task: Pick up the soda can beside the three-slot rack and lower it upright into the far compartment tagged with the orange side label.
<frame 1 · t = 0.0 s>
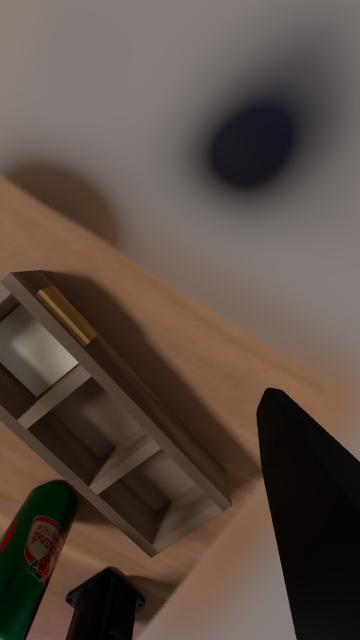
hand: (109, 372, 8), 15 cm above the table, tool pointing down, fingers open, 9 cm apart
can rack: (104, 406, 25), on the table
soda can: (56, 497, 28), on the table
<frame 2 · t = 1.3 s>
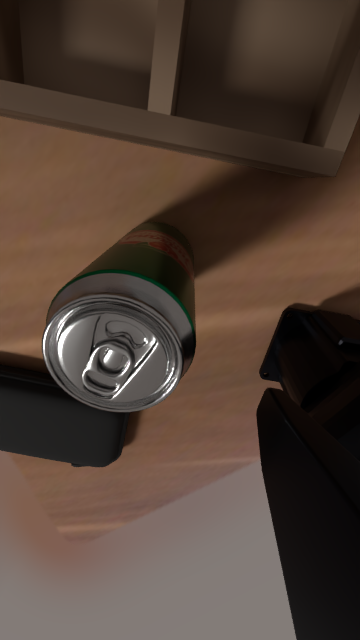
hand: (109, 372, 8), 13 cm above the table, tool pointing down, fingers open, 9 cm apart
can rack: (98, 28, 13), on the table
soda can: (157, 258, 19), on the table
carrying case or bag: (55, 408, 27), on the table
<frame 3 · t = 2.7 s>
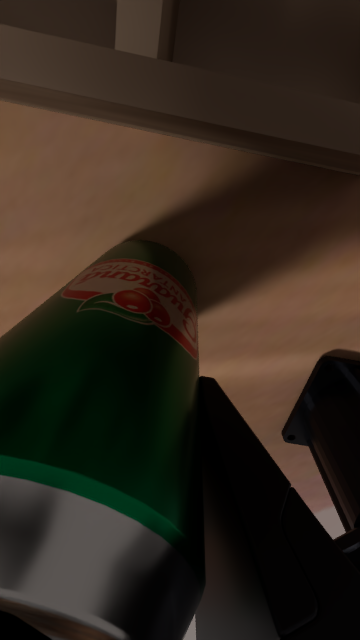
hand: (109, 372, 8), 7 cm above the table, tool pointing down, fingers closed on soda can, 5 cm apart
soda can: (146, 288, 14), on the table, touching gripper
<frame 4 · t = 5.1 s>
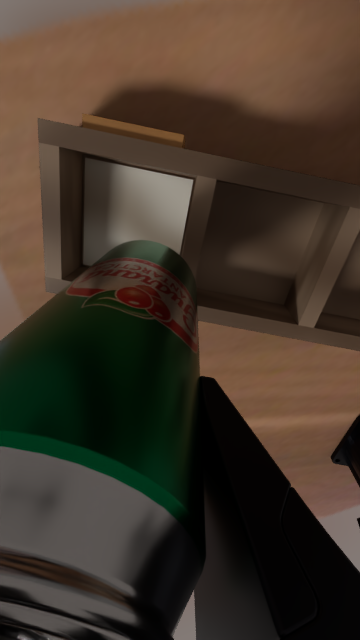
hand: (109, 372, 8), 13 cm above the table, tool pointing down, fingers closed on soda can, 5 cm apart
can rack: (249, 246, 19), on the table
soda can: (147, 287, 14), point 6 cm above the table, touching gripper
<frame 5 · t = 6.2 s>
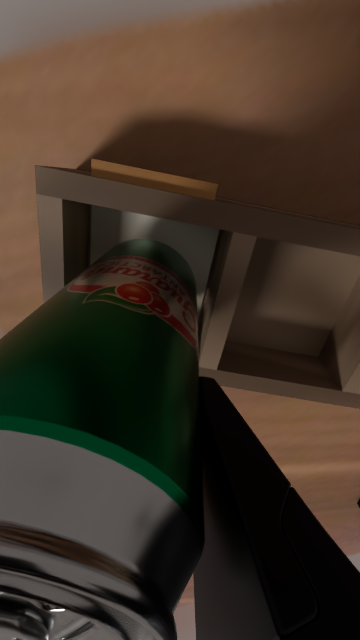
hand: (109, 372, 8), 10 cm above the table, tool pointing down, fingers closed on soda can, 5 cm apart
can rack: (281, 293, 16), on the table
soda can: (147, 285, 14), point 2 cm above the table, touching gripper
when the fingers open (9 cm above the table, at t = 7.3 s): soda can stays where it is, resting on can rack.
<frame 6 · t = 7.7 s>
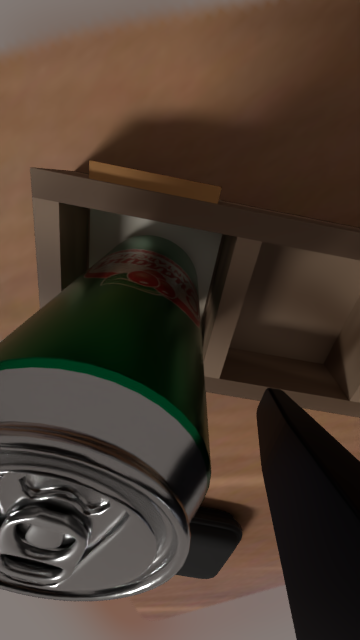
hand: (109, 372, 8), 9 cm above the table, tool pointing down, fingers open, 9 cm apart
can rack: (285, 298, 16), on the table
soda can: (151, 279, 15), point 1 cm above the table, touching can rack
carrying case or bag: (161, 519, 29), on the table
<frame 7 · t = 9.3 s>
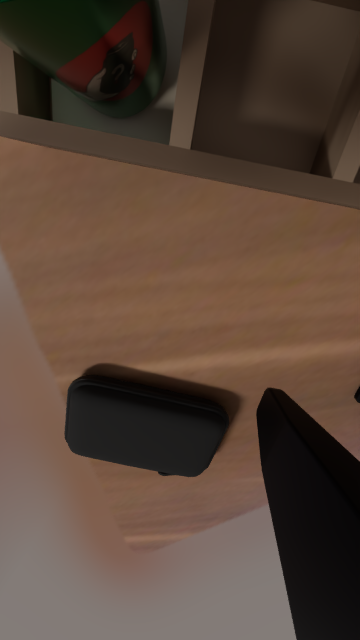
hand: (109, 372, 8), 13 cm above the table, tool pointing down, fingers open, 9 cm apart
can rack: (265, 95, 15), on the table
soda can: (118, 60, 14), point 1 cm above the table, touching can rack
carrying case or bag: (146, 418, 27), on the table
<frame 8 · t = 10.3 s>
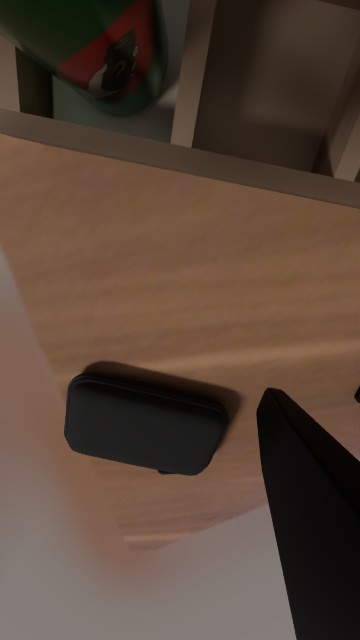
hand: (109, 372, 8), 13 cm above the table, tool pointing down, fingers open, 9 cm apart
can rack: (266, 94, 15), on the table
soda can: (120, 58, 14), point 1 cm above the table, touching can rack
carrying case or bag: (146, 416, 27), on the table
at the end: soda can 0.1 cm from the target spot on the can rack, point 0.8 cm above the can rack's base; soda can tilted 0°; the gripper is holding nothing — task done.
